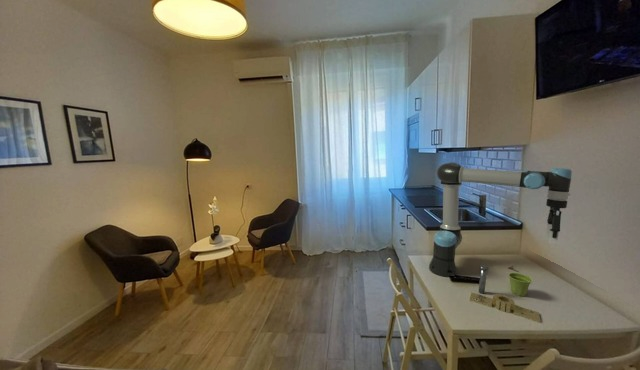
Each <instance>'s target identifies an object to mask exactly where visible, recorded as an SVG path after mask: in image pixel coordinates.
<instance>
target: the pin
mask: <svg viewBox="0 0 640 370" xmlns="http://www.w3.org/2000/svg"><path fill="white" fill-rule="evenodd" d="M479 270H480V273H479V283H478V293H479V294H480V295H484V294H485V291H486V283H487V275H488V274H487V272H488V271H489V266H487V265H483V264H481V265H479Z"/></svg>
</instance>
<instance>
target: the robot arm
mask: <svg viewBox="0 0 640 370" xmlns="http://www.w3.org/2000/svg"><path fill="white" fill-rule="evenodd" d="M572 172H573V171H572V170H571V169H569V168H561V167H560V168H557V167H554V168H553V167H552V168H551V170H550V171H538V170H537V171H535V170H521V171H512V170H511V171H510V170H499V169H498V170H496V169H483V168H482V169H481V168H479V169H478V168H465V167H464V166H463V165H461V164H459V163H457V162H452V161H451V162H445V163H442V164H441V165H440V166H438V168H437V171H436V174H437V175H436V176H437V179H438V180H439V181H440V185H441V186H442V187H443V188H442V190H443V191H442V224H440V225H439V230H438V231H437V232H434V233H435V234H434V237H433V252H432V258H431V260H430V261H429V262H430V263H429V264H428V265H429V266H428V269H429V271H430V272H431V273H432V274H434V275H436V276H440V277H445V278H450V277H449V276H450V275H456V276H457V274H458V269H457V266H456V265H457V264H456V261H455V258H456V250H457V248H458V246H459V245H460V244H461V242H462V240H463V235H462V232H461V231H462V230H461V229H462V228H461V226H460V225H459V202H460V201H459V199H460V197H459V192H460V191H459V189H460V187H461V186H462V185H463V183H472V184H483V185H484V184H485V185H495V186H505V187H507V186H508V187H514V188H515V187H517V188H523V189H525V188H526V189H530V190H539V189H540V188H543V187H548V189H547V196H546V197H547V199H546V203H545V205H546V206H547V207H549V212H548V217H547V221H546V223H547V224H546V225H547V226H546V230H545V236H546V237H549V239H548V241H549V242H548V243H549V244H551V245H557V244H558V240H559V232H561V219H562V218H561V217H562V213H563V212H562V211H561V209H566V208H568V207H567V206H568V199H569V196H571V194H570V188H571V182H572V176H573V175H572V174H573V173H572Z"/></svg>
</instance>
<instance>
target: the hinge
mask: <svg viewBox="0 0 640 370" xmlns="http://www.w3.org/2000/svg"><path fill="white" fill-rule="evenodd" d="M469 296H470V297H469V301H471V302H473V303H476V304H480V305H484V306H487V307H490V308H495V309H496V310H498V311H501V312H504V313H512V314H513V315H514V316H518V317H521V316H522V317H521V318H524V317H525V318H524V319H527V318H528V320H530V319H531V321H534V322H537V323H541V318H540V317H541V316H540V312H539V311H535V310H532V309H528V308H525V307H521V306H518V305H515V300H514V299H513V298H511V297H510V296H507V295H505V294H500V293H494V294H492V297H488V296H485V295H483V294H480V293H479V294H478V293H475V292H471V293H470V295H469ZM492 306H493V307H492Z"/></svg>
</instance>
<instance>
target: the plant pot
mask: <svg viewBox="0 0 640 370" xmlns="http://www.w3.org/2000/svg"><path fill="white" fill-rule="evenodd" d="M508 277H509V284H510V292H511V293H512V294H514V295H515V296H518V297H519V296H521V297H525V296H526V295H527V294H528V290H529V286H530V285H531V284H532V282H533V279H532V278H531V277H530V276H527V275H525V274H522V273H518V272H510V273H508Z"/></svg>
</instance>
